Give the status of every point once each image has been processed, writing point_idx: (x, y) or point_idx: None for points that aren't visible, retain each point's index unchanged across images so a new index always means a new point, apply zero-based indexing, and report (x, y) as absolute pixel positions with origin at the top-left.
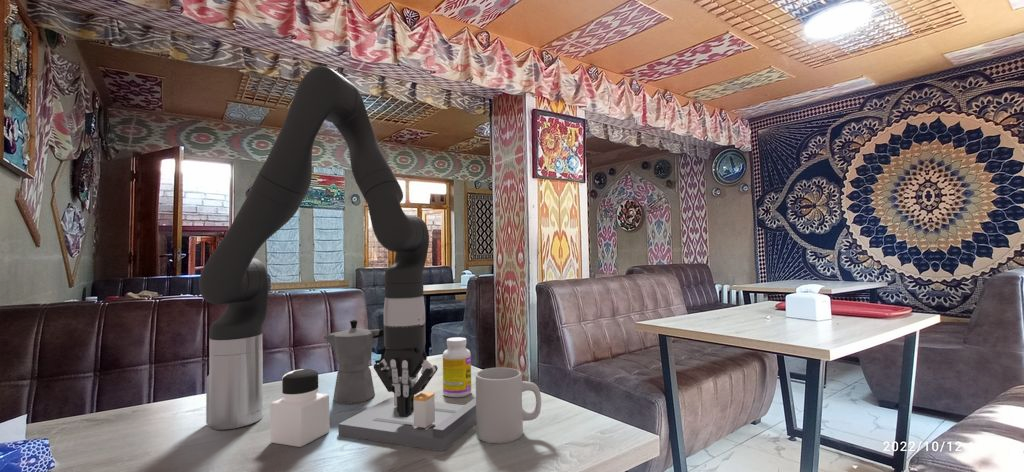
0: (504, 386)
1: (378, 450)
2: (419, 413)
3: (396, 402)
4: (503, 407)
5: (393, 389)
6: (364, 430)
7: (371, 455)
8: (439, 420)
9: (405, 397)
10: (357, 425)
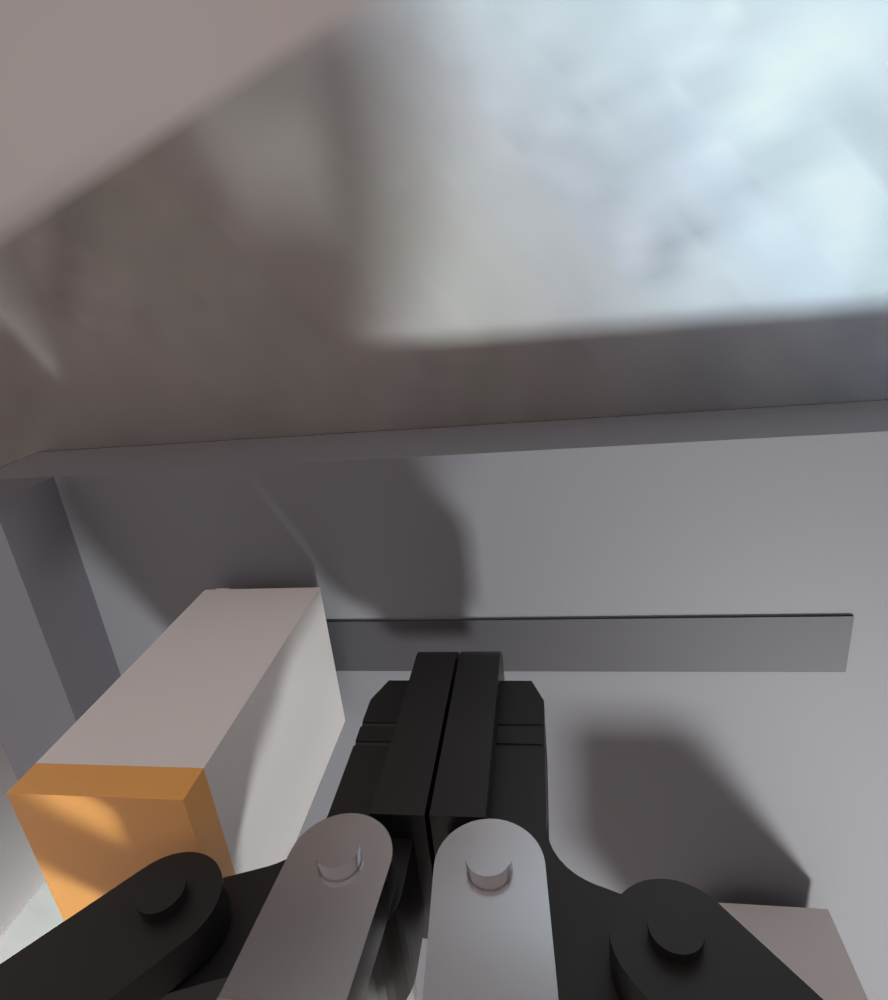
0: None
1: (489, 266)
2: (204, 663)
3: (810, 942)
4: None
5: (611, 940)
6: (809, 426)
7: (477, 152)
8: None
9: (371, 818)
10: None
